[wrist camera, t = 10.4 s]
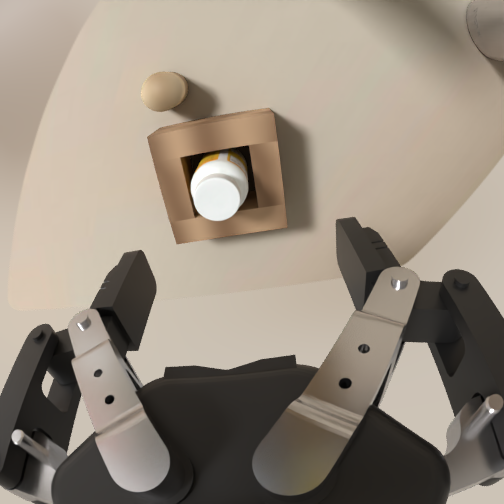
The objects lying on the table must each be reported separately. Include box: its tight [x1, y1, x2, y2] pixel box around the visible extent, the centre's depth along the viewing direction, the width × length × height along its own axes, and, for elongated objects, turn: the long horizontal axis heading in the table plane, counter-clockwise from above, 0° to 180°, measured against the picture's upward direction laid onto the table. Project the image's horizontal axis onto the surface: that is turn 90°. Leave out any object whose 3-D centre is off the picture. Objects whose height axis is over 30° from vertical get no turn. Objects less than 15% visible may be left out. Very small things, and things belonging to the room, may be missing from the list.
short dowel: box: [141, 72, 188, 112], centre depth 27 cm, size 4×4×4 cm
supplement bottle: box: [191, 148, 248, 221], centre depth 30 cm, size 5×5×10 cm
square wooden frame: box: [147, 108, 287, 244], centre depth 32 cm, size 12×12×5 cm
